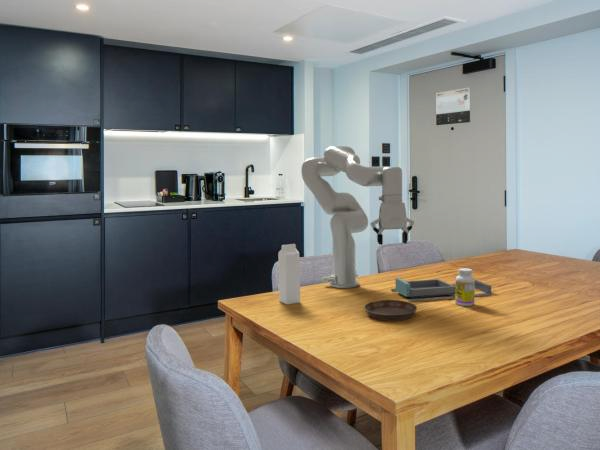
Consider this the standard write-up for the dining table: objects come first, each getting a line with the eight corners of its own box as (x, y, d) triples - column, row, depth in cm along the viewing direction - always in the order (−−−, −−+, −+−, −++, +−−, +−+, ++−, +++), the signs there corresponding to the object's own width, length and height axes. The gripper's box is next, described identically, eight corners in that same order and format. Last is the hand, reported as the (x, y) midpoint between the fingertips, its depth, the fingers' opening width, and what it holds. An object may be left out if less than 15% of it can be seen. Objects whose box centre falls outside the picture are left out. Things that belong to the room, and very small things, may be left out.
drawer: (408, 300, 189) (408, 284, 189) (393, 291, 203) (393, 277, 202) (455, 296, 193) (455, 281, 193) (438, 288, 207) (438, 274, 206)
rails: (409, 301, 187) (409, 294, 187) (390, 290, 205) (390, 283, 205) (495, 295, 195) (495, 287, 195) (470, 284, 212) (470, 278, 212)
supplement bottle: (452, 301, 186) (452, 267, 185) (469, 301, 187) (470, 267, 186) (459, 306, 180) (460, 271, 178) (477, 306, 180) (478, 270, 179)
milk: (300, 302, 190) (299, 244, 187) (286, 304, 187) (285, 246, 184) (292, 298, 195) (292, 242, 193) (278, 301, 192) (277, 244, 190)
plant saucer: (382, 326, 160) (382, 316, 160) (354, 312, 177) (354, 303, 176) (427, 318, 167) (427, 309, 167) (397, 305, 184) (397, 297, 183)
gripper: (373, 200, 187) (373, 246, 189) (417, 199, 190) (417, 243, 191) (367, 199, 194) (368, 243, 196) (410, 198, 197) (410, 241, 199)
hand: (392, 243), depth 194 cm, fingers open, 9 cm apart
